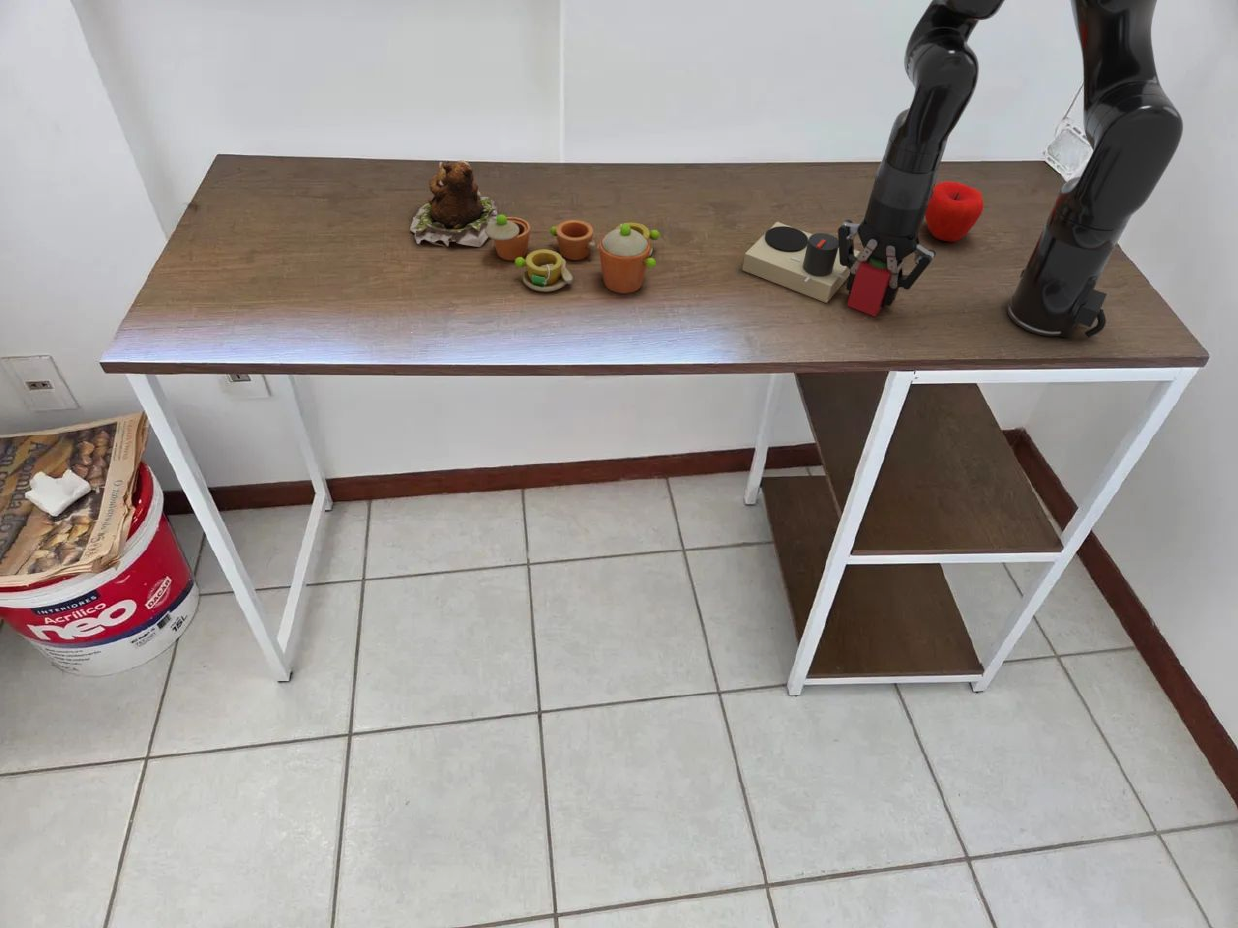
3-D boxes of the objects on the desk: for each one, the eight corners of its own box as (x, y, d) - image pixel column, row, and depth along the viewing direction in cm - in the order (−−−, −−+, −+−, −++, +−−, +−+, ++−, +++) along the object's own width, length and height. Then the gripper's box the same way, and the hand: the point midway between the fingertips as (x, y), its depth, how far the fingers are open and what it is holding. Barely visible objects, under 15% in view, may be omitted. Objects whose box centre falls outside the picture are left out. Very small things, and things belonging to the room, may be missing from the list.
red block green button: (887, 300, 129) (902, 254, 123) (875, 317, 126) (889, 271, 120) (859, 289, 130) (873, 244, 124) (846, 306, 127) (859, 260, 122)
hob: (860, 270, 134) (865, 252, 132) (828, 309, 127) (833, 291, 124) (773, 238, 139) (777, 220, 137) (737, 274, 132) (740, 256, 129)
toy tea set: (656, 239, 137) (660, 183, 130) (664, 298, 127) (669, 241, 120) (489, 237, 136) (484, 180, 129) (483, 297, 125) (478, 239, 118)
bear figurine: (507, 202, 143) (503, 130, 134) (489, 253, 133) (483, 179, 124) (425, 194, 144) (416, 123, 135) (401, 244, 133) (389, 171, 125)
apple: (905, 224, 143) (918, 180, 138) (951, 217, 146) (966, 173, 140) (934, 254, 138) (950, 209, 132) (981, 246, 140) (999, 202, 134)
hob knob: (809, 256, 130) (816, 227, 127) (837, 265, 129) (844, 237, 125) (797, 269, 128) (804, 241, 124) (825, 280, 126) (832, 251, 123)
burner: (814, 237, 134) (815, 235, 134) (796, 257, 130) (797, 255, 130) (776, 223, 136) (776, 221, 136) (757, 242, 132) (757, 240, 132)
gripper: (840, 187, 115) (813, 294, 128) (944, 222, 110) (906, 330, 123) (861, 164, 120) (833, 270, 132) (963, 197, 115) (924, 304, 127)
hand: (868, 298), depth 127 cm, fingers closed on red block green button, 4 cm apart
